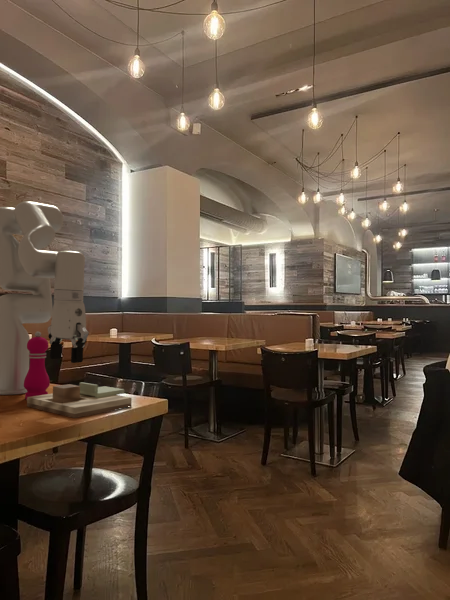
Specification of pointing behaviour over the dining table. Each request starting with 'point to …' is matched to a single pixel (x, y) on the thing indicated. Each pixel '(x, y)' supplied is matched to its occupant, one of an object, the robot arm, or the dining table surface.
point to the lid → (99, 390)
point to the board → (79, 404)
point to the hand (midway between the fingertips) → (66, 360)
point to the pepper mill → (37, 367)
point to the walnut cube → (66, 393)
